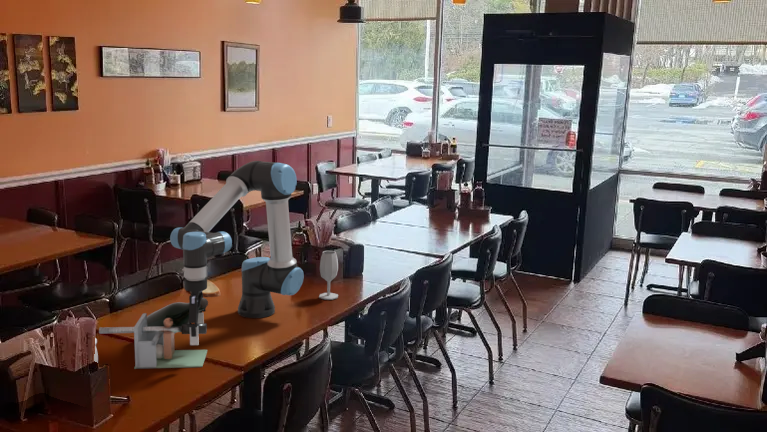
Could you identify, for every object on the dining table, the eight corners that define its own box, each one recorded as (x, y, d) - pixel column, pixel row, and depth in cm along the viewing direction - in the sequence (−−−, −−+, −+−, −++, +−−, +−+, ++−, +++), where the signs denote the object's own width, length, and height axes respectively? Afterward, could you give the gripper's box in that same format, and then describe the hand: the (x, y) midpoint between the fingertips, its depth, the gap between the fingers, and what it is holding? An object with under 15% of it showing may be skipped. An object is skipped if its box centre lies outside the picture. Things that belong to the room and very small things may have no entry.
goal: (164, 351, 241) (162, 313, 238) (156, 368, 228) (154, 327, 225) (144, 352, 240) (143, 313, 238) (135, 368, 227) (133, 327, 224)
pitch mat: (207, 350, 243) (207, 349, 243) (202, 366, 230) (202, 365, 229) (143, 352, 240) (143, 351, 240) (134, 368, 227) (134, 367, 227)
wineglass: (315, 298, 305) (315, 253, 301) (324, 293, 313) (324, 249, 309) (333, 301, 302) (333, 255, 298) (341, 296, 310) (342, 251, 306)
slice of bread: (218, 298, 303) (218, 290, 303) (179, 296, 305) (178, 288, 304) (230, 286, 321) (230, 278, 320) (193, 284, 322) (193, 277, 321)
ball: (157, 339, 235) (149, 351, 236) (154, 344, 231) (146, 356, 231) (169, 346, 236) (162, 358, 237) (167, 352, 232) (159, 363, 232)
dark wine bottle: (137, 331, 246) (185, 305, 226) (150, 308, 253) (198, 281, 233) (160, 346, 251) (210, 323, 231) (172, 323, 258) (222, 298, 238)
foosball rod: (207, 351, 239) (207, 314, 236) (205, 358, 233) (204, 320, 231) (103, 353, 235) (101, 316, 232) (98, 360, 229) (96, 322, 226)
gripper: (189, 268, 242) (191, 324, 246) (177, 289, 218) (180, 351, 222) (211, 267, 243) (212, 324, 247) (202, 288, 219) (203, 351, 223)
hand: (197, 337), depth 235 cm, fingers open, 13 cm apart
